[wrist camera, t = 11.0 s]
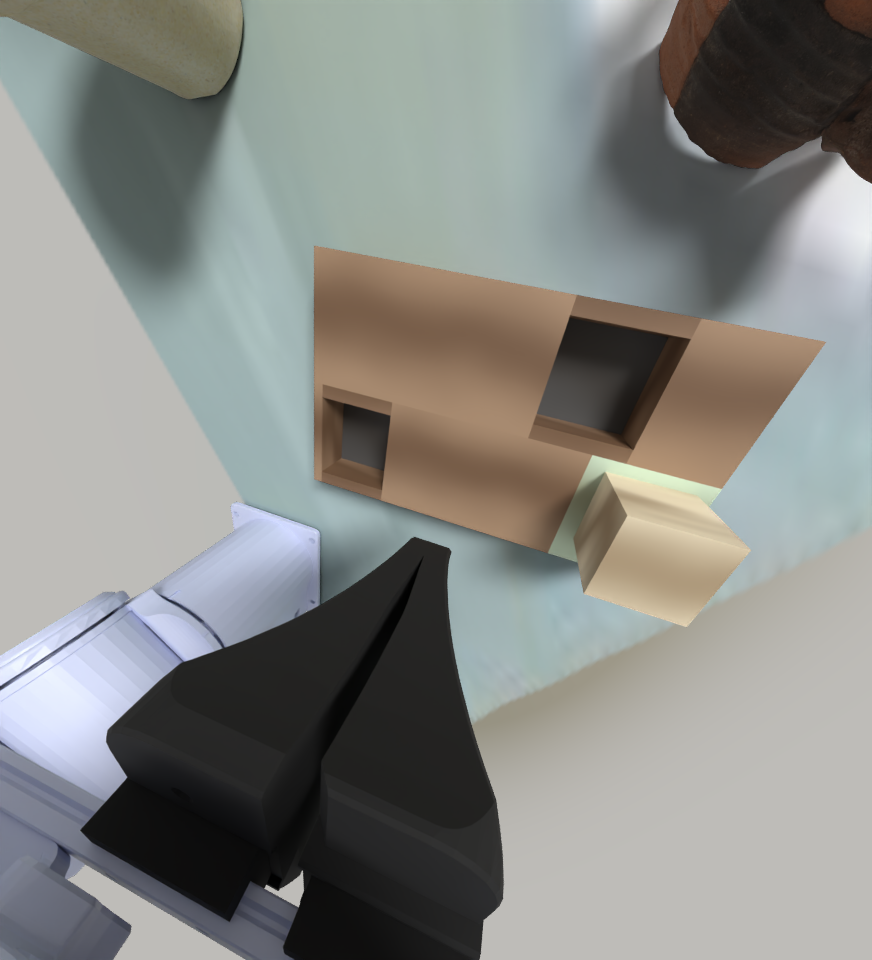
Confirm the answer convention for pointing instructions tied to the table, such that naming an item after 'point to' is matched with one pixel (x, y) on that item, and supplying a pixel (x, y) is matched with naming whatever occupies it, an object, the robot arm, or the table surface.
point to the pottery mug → (772, 78)
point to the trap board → (526, 396)
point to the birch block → (654, 549)
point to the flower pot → (146, 36)
